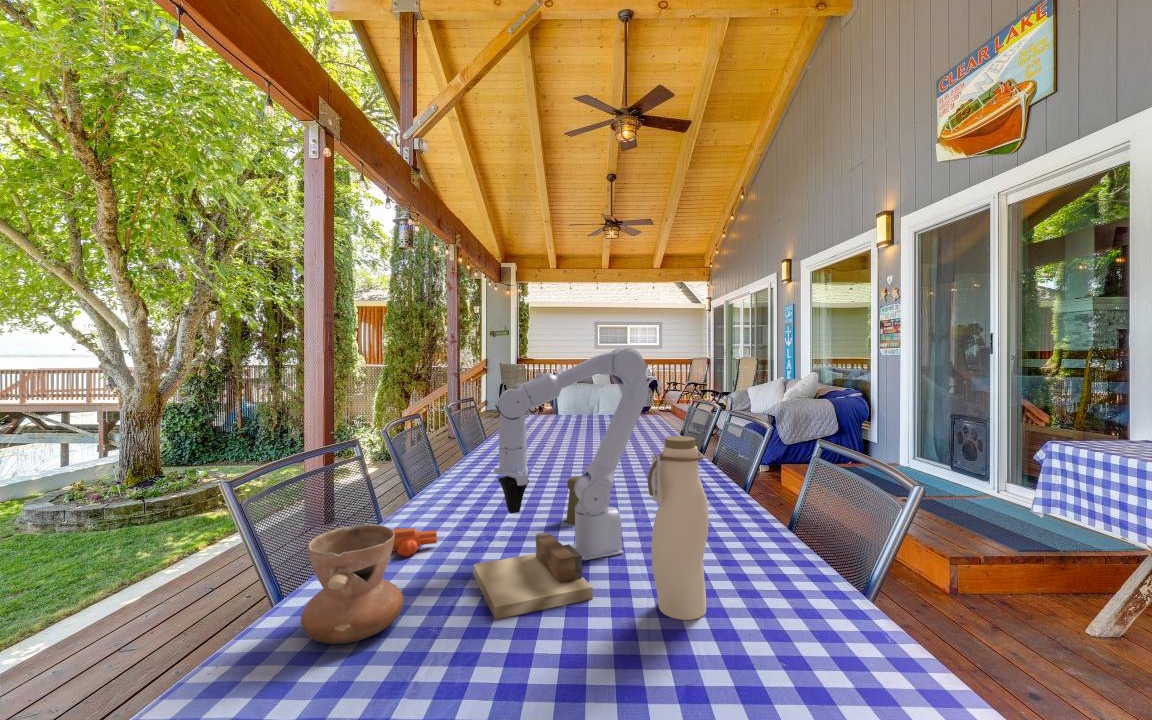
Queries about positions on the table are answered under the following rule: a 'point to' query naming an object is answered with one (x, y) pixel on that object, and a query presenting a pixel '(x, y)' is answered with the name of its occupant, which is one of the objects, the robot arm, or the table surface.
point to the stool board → (528, 585)
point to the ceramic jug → (351, 585)
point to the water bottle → (679, 529)
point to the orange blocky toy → (411, 540)
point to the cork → (572, 500)
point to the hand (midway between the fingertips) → (513, 512)
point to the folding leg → (555, 557)
